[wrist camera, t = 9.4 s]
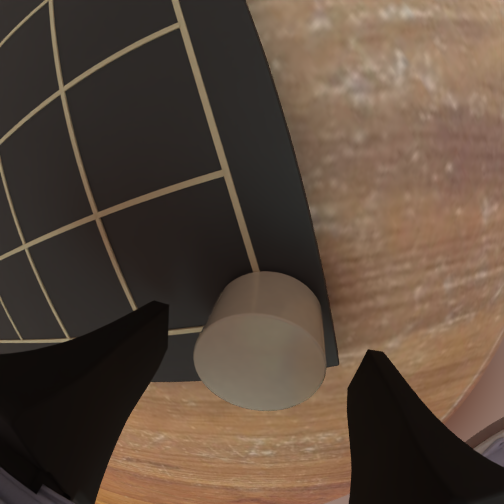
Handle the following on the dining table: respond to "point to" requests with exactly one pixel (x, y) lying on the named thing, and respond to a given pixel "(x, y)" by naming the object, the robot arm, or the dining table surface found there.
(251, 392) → the cylinder
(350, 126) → the dining table surface
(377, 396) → the robot arm
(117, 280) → the board
